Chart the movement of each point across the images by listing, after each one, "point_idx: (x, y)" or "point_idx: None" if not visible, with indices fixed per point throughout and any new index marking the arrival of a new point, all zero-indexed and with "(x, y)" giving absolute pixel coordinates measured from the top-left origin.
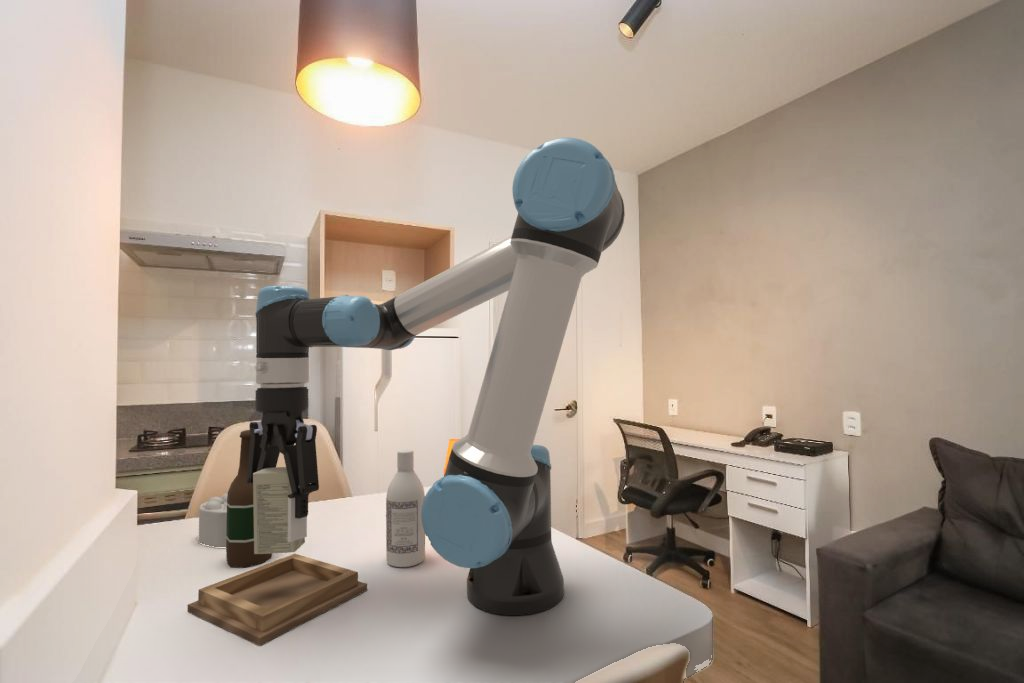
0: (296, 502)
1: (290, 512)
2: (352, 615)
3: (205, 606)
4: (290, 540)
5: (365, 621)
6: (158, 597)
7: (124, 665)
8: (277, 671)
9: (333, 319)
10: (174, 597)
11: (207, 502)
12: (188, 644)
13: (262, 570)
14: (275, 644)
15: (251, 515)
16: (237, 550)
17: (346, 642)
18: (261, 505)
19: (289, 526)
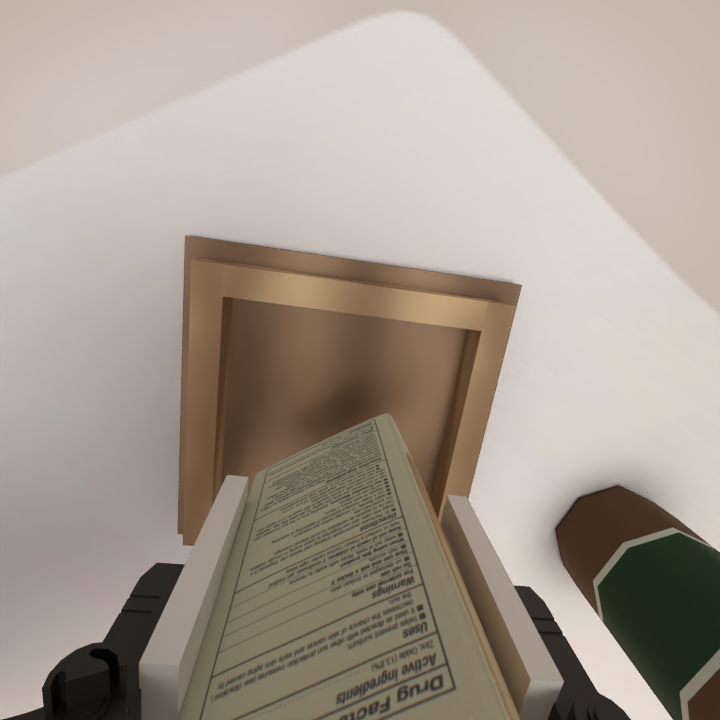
0: (142, 646)
1: (187, 572)
2: (112, 422)
3: (465, 295)
4: (228, 479)
5: (59, 413)
6: (655, 306)
7: (420, 41)
8: (50, 171)
9: None
10: (614, 322)
11: None
12: (363, 173)
13: (450, 459)
14: (163, 256)
15: (679, 628)
16: (629, 519)
17: (17, 327)
18: (385, 555)
19: (218, 517)
